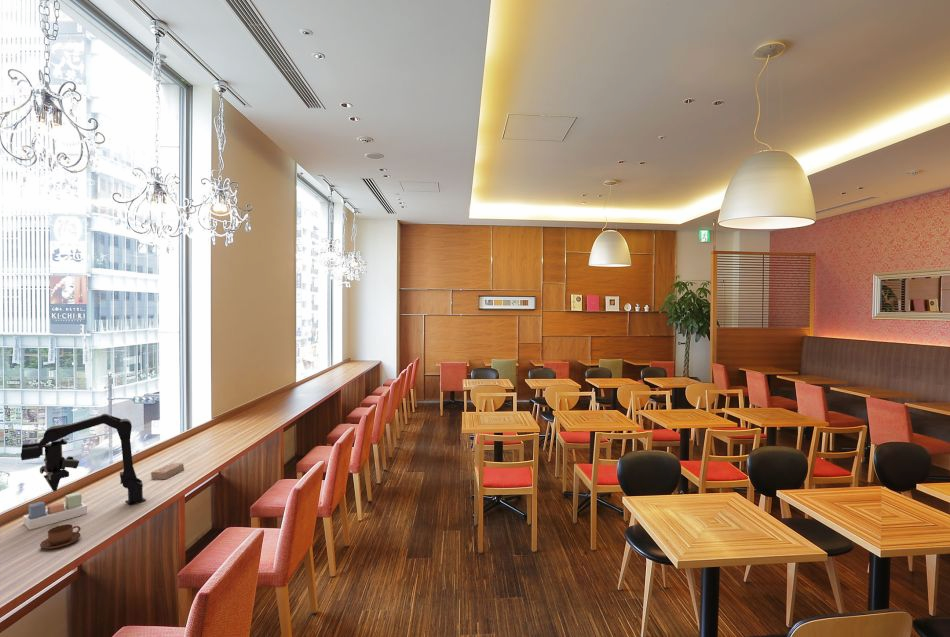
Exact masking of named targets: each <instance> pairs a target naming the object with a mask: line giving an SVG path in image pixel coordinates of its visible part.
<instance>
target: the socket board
mask: <svg viewBox="0 0 950 637" xmlns="http://www.w3.org/2000/svg"><path fill="white" fill-rule="evenodd" d="M45 511H46V515H45V516H42V517H38V518H34V519H31V520H30V519H29V514H24V515H23V525H24V526H25V527H26V528H27V529H28V530H34V529H37V528H40V527H44V526H47V525H51V524H55V523H58V522H62V521H65V520H68V519H72V518H76V517H79V516H83V515H87V514H88V505H86V504H85V503H84V502H82V506H78V507H74V508H71V509H67V508H66V504H64V511H60V512H56V513H53V514H49V513H48V508H47V509H45Z"/></svg>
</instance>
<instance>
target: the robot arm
mask: <svg viewBox="0 0 950 637" xmlns="http://www.w3.org/2000/svg"><path fill="white" fill-rule="evenodd" d="M102 424H103V425H106V426H107V427H111V428H113V429H116V432H117V434H118V437H119V439H120V444H121V454H122V456H121V457H122V463H123V464H122V466H123V470H122V471H119V477H120V482H119V483H120V485H122V487H123V488H125V489H127V500H125V503H126V504H128V505H129V506H131V505H135V504H138V503H143V502H145V501H147V499H146V498H144V495H143V494H144V491H143V488H144V487H143V486H144V484H143V480H141V479H139V478H138V476H137V474H136V471H135V467H134V464H133V455H132V446H131V445H132V443H131V436H132V422H131V420H130V419H128V418H119V417H116V416H112V415H110V414H108V413H102V414H100V415H97V416H94V417H90V418H87V419H83V420H80V421H76V422H73V423H69V424H58V425H53V426H50V427H47V429H46V430H45V432H44V433H43V438H41V439H40V440H39V441H38V442H33V443H23V444H22V445H21V453H20V459H21V461H27V460H35V459H40V457H41V456H43V455H44V458H43V462H44V465H42V466H41V467H40V468H39V473H40V475H41V474H42V475H43V474H44V473H45V475H43V478H44V479H45V481H46V482H47V484H48V485H49V487H50V488H51V490H52V492H57V490H58V487H59V484H60V481H61V479H64V478H68V477H70V471H68V469H67V470H66V468H71V469H77V468H78V467H79V463H80V460H78V459H74V456H71V455H70V456H69V455H68V456H67V457H66V458H65V457H64V456H63V445H65V446H66V445H67V444H68V441H67V440H66V439H64V438H65V437H67V436H69V435H71V434H73V433H74V434H75V433H76V432H80V431H83V430H87V429H90V428H93V427H96V426H100V425H102Z"/></svg>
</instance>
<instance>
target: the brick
mask: <svg viewBox="0 0 950 637" xmlns="http://www.w3.org/2000/svg"><path fill="white" fill-rule="evenodd" d="M184 466H185V465H184V463H183V462H171V463H169V464H166V465H164V466H163V467H159V468H158V469H155V470H152V471H151V472H150V476H151V477H150V479H152V480H167V479H170V478H171V477H174V476H175V475H177V474H179V473H180V472H182V471H184V470H185V467H184Z"/></svg>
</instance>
